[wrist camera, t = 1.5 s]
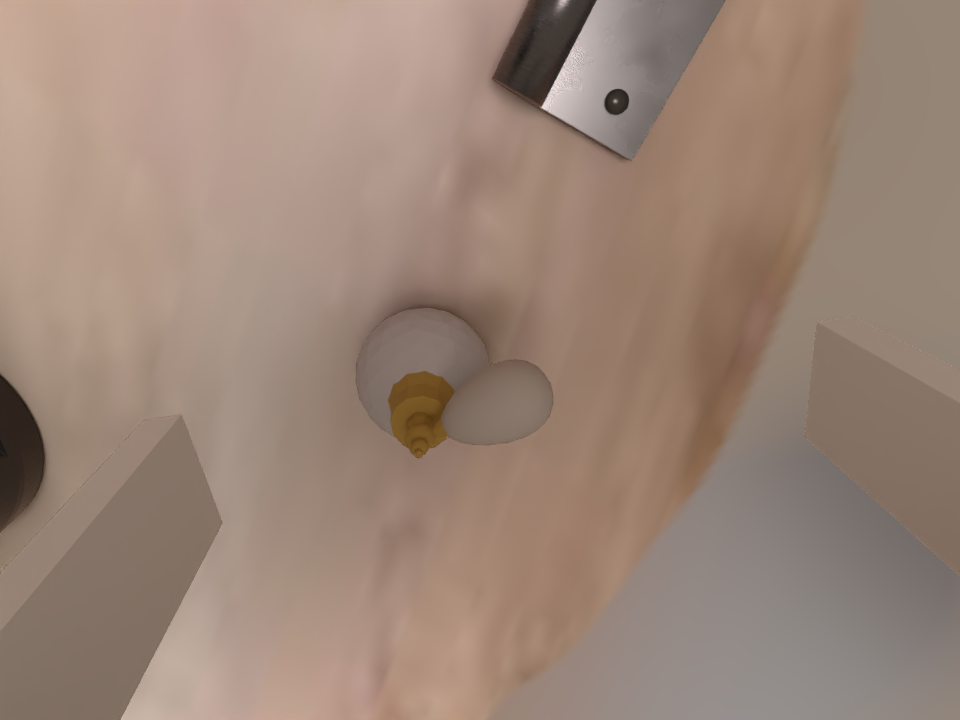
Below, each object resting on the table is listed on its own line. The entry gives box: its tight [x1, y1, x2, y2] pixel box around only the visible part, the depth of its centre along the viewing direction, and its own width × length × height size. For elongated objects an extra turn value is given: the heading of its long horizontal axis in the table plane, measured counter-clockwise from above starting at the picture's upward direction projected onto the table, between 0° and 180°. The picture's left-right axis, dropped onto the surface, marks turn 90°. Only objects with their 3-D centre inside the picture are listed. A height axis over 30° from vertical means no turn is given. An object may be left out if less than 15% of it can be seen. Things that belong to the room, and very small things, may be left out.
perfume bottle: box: [356, 307, 553, 458], centre depth 30 cm, size 8×10×12 cm
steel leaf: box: [492, 0, 725, 161], centre depth 28 cm, size 8×10×3 cm
